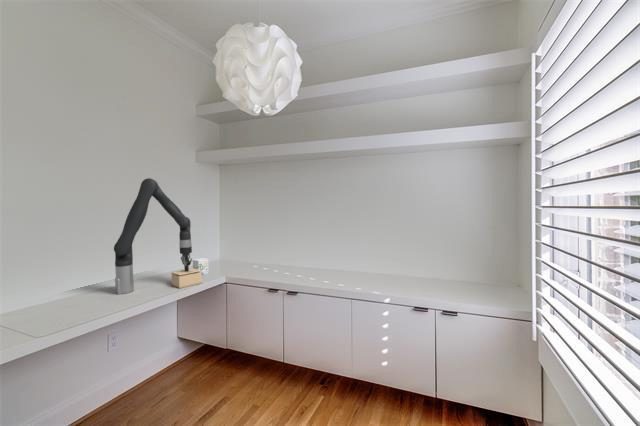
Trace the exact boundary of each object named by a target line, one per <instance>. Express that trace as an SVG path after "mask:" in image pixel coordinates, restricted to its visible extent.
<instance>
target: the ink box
mask: <svg viewBox="0 0 640 426" xmlns="http://www.w3.org/2000/svg"><path fill="white" fill-rule="evenodd" d="M192 269H198V270H201V271H200V272H202V276H204V275H207V274H209V258H205V257H201V258H200V257H199V258H195V259H192Z"/></svg>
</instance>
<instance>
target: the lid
mask: <svg viewBox="0 0 640 426" xmlns="http://www.w3.org/2000/svg"><path fill="white" fill-rule="evenodd" d="M199 271H201V270H198V269H193V268H189V271H185V269H181V270H177V271H171V273H172V274H176V275H184V274H189V273H194V272H199ZM172 274H171V275H172Z"/></svg>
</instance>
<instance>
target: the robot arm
mask: <svg viewBox="0 0 640 426" xmlns="http://www.w3.org/2000/svg"><path fill="white" fill-rule="evenodd" d="M152 197H153V198H154V199H155V200H156V201H157V202H158V203H159V204H160V205H161V206H162V208H163V209H164V210H165V211H166V213H167V214H169V216H170V217H172V218H173V220H174V221H175V222H176V224H177V225H178V226H179V242H178V243H179V244H178V245H179V253H180V255H181V256H180V260H181V263H182V265H183V268H184V270H185V271H189V269H190V268H189V266H190V265H191V263H192V262H193V259H192V258H191V255H190V254H191V253H192V251H193V249H192V248H193V247H192V237H191V236H192V235H191V220H190V219H191V218H190V217H187V216H185V214H184V213H183V212H182V210H181V209H180V208H179V206H177V205H176V203H174V202H173V200H171V198H169V197H168V196H167V195H166V194H165V192H164V191H163V190H162V189H161V187H160V185H159V183H158V182H157V181H156V180H155V179H153V178H150V177H149V178H148V177H147V178H145V179H143V181H142V182H141V184H140V187H139V191H138V192H137V196H136V198H135V200H134V202H133V203H132V206H131V208H130V209H129V212H128V214H127V217H126V219H125V221H124V225H123V228H122V231H121V234H120V236H119V237H118V240H117V241H116V243H115V244H114V245H113V252H114V253H115V254H114V255H115V257H114V258H115V259H114V260H115V262H114V267H115V278H114V281H115V282H114V283H115V293H116V294H117V295H124V294H129V293H132V292H134V291H135V286H134V285H135V284H134V281H135V280H134V267H133V266H134V265H133V264H134V263H133V259H134V258H133V256H134V255H133V242H134V241H135V240H134V239H135V237H136V235H137V233H138V231H140V228H141V226H142V224H143V223H144V221H145V219H146V216H147V212H148V208H149V203H150V200H151V199H152Z"/></svg>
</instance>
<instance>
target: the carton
mask: <svg viewBox="0 0 640 426" xmlns="http://www.w3.org/2000/svg"><path fill="white" fill-rule="evenodd" d="M201 284H203V275H202V272H200V271H199V272H194V273H189V274H184V275H176V274H172V272H171V286H173V287H174V288H175V287H176V288H177V289H178V290H179V289H180V290H181V289H185V288H189V287H194V286H198V285H201Z"/></svg>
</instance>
